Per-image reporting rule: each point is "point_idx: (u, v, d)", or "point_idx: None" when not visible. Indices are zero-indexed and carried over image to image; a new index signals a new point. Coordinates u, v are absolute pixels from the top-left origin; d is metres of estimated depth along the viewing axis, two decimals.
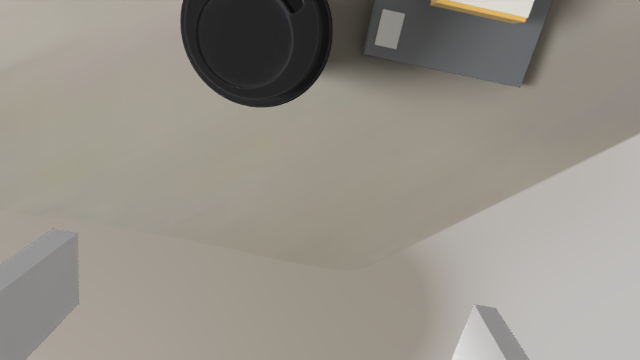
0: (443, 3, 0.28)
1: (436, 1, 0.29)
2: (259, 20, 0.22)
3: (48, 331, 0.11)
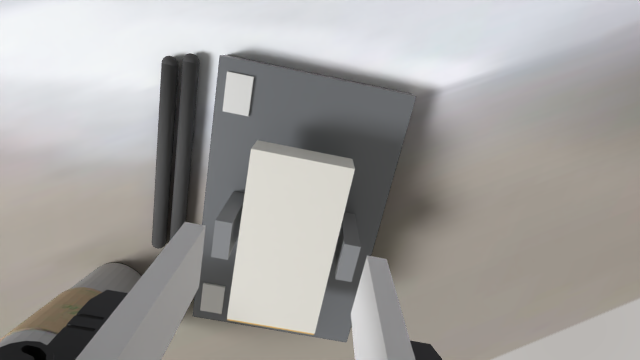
0: (233, 320, 0.30)
1: None
2: None
3: (186, 308, 0.13)
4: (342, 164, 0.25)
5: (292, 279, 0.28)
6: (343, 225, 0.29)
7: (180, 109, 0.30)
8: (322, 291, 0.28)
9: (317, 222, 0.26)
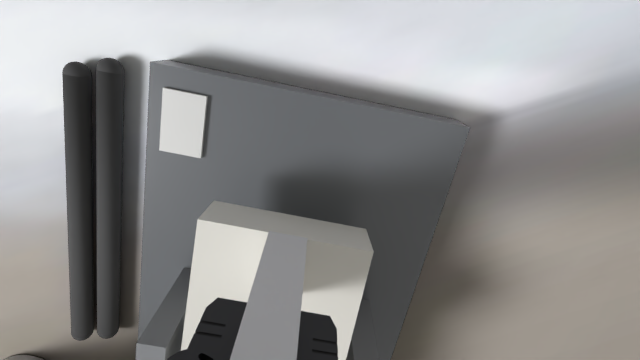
0: None
1: None
2: None
3: None
4: (351, 243, 0.15)
5: None
6: None
7: (97, 145, 0.19)
8: None
9: None
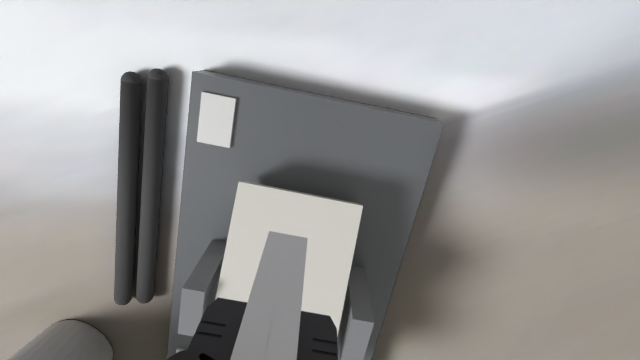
0: None
1: None
2: None
3: None
4: (347, 202, 0.21)
5: None
6: (350, 287, 0.23)
7: (145, 138, 0.24)
8: None
9: (317, 277, 0.21)
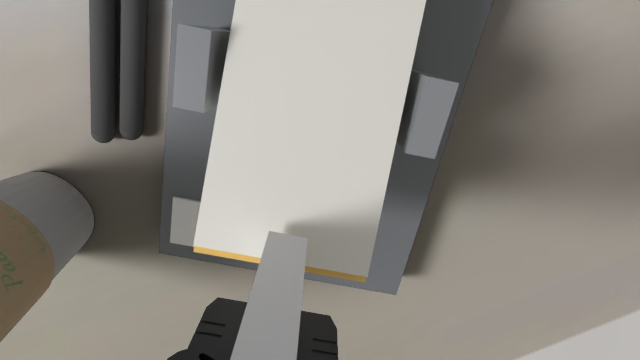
0: (206, 252, 0.15)
1: None
2: None
3: None
4: None
5: (326, 151, 0.15)
6: (412, 70, 0.17)
7: None
8: (383, 177, 0.15)
9: (375, 26, 0.14)
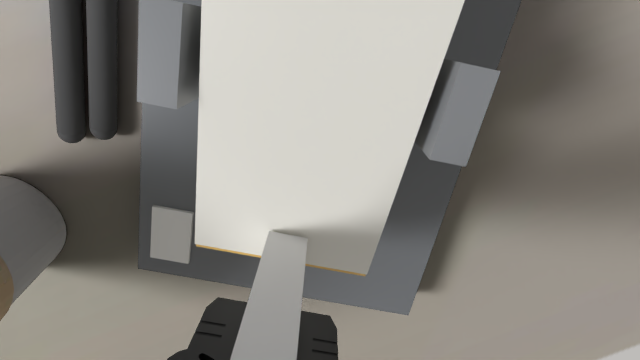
0: (209, 246, 0.15)
1: None
2: None
3: None
4: None
5: (327, 164, 0.13)
6: None
7: None
8: (391, 191, 0.13)
9: (395, 13, 0.10)
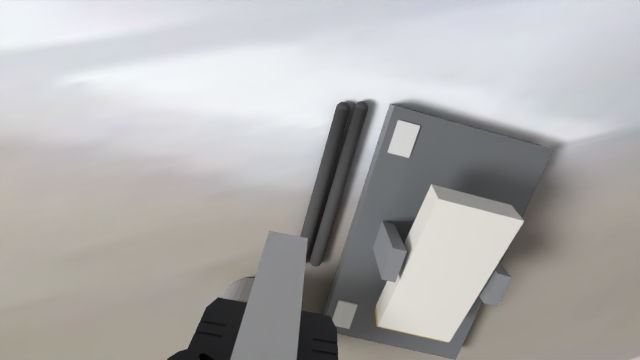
0: (382, 326, 0.35)
1: (376, 323, 0.35)
2: None
3: None
4: (511, 215, 0.29)
5: (443, 300, 0.33)
6: None
7: (346, 147, 0.35)
8: (466, 311, 0.33)
9: (478, 259, 0.31)
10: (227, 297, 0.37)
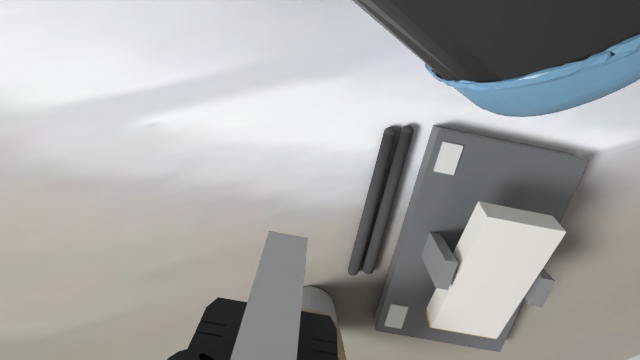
0: None
1: (429, 324, 0.39)
2: None
3: None
4: (554, 226, 0.32)
5: (491, 303, 0.36)
6: None
7: (394, 168, 0.38)
8: (512, 311, 0.37)
9: (523, 266, 0.34)
10: None
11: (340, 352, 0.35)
